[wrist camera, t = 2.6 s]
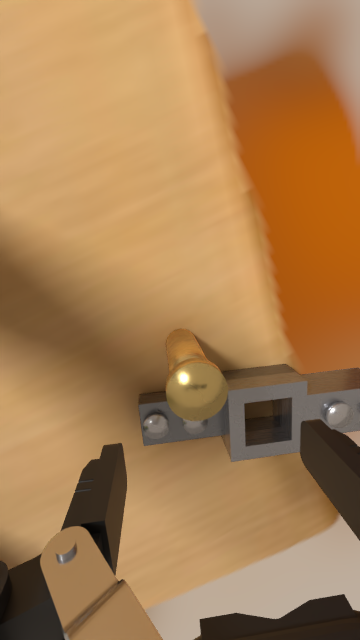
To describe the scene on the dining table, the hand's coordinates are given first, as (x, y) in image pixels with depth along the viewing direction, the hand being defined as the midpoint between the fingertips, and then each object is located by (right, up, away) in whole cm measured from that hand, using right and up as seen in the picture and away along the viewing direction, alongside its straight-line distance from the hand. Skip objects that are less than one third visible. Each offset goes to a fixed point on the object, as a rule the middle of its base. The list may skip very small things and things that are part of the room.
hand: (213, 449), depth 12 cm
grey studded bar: (+6, -3, +16) cm, 18 cm away
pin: (-1, +3, +14) cm, 15 cm away
